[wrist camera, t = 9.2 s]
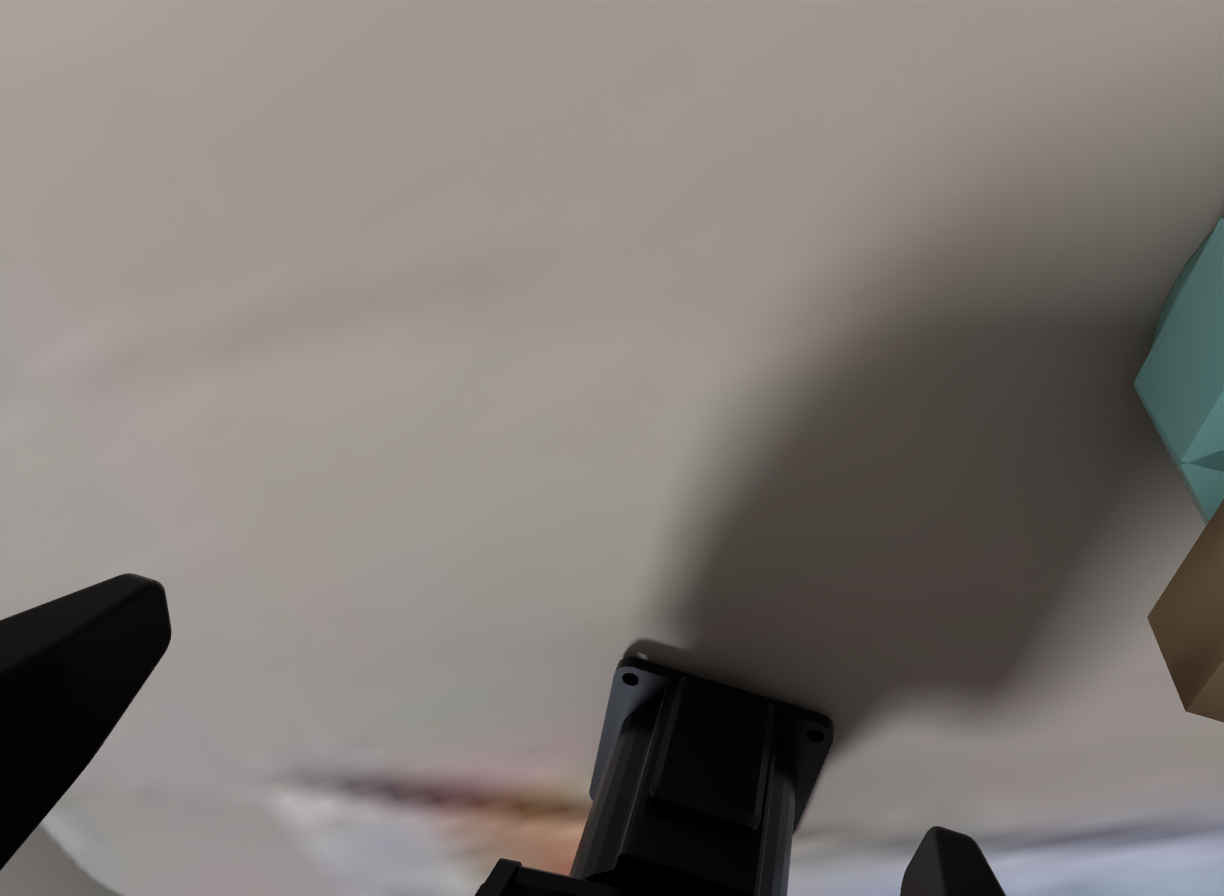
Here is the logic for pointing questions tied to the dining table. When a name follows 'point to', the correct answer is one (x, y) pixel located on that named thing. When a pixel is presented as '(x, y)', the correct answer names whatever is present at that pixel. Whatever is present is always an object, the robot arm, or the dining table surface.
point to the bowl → (1191, 375)
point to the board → (1196, 623)
